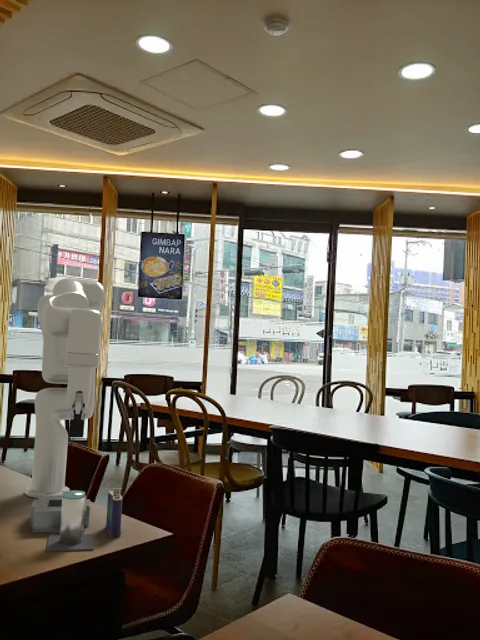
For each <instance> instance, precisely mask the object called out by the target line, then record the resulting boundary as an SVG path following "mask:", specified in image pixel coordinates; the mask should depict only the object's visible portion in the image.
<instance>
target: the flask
mask: <svg viewBox="0 0 480 640" xmlns="http://www.w3.org/2000/svg"><path fill="white" fill-rule="evenodd" d="M120 490H122V488H121V487H119V488H118V487H116V488H115V487H113V488H112V490H109V491H108V492H107V505H106V506H107V507H106V509H107V510H106V520H105V521H106V523H105V529H107V532H108V533H109V534H110V535H109V537H110V538H112V539H118V538H120V537H121V536H122V526H121V525H122V514H123V513H122V512H123V511H122V510H123V509H122V508H123V496H122V495H121V492H120Z"/></svg>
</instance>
